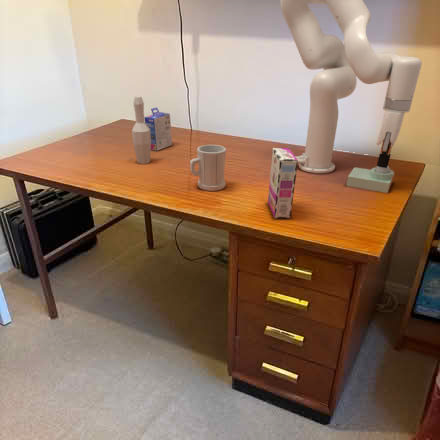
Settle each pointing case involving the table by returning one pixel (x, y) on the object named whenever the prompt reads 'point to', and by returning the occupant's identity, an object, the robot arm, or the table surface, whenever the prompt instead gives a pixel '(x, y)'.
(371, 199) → the table surface
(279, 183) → the candy bar box
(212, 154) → the cup
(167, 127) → the ink cartridge box
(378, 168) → the grey push button
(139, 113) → the faceted bottle
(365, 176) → the green push button box
